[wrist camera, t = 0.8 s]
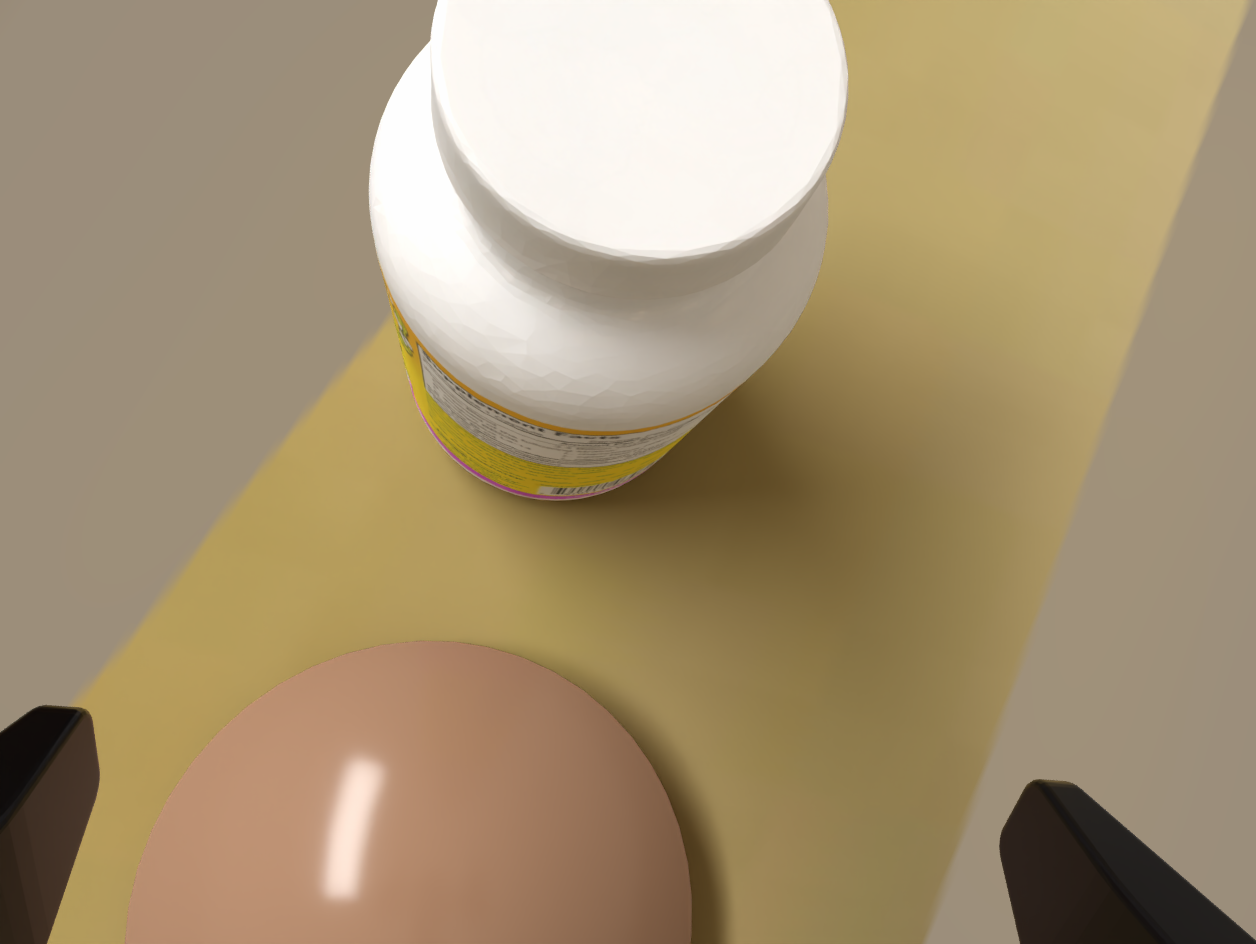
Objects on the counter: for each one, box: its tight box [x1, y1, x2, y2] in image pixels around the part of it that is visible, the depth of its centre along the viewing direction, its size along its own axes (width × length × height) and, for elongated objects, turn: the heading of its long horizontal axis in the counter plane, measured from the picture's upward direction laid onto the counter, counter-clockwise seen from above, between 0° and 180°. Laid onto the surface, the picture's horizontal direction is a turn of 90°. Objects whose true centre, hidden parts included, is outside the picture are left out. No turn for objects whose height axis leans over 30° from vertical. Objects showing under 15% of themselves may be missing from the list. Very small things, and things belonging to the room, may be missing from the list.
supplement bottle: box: [369, 0, 848, 501], centre depth 17 cm, size 7×7×13 cm
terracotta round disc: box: [125, 641, 692, 944], centre depth 20 cm, size 11×11×1 cm
